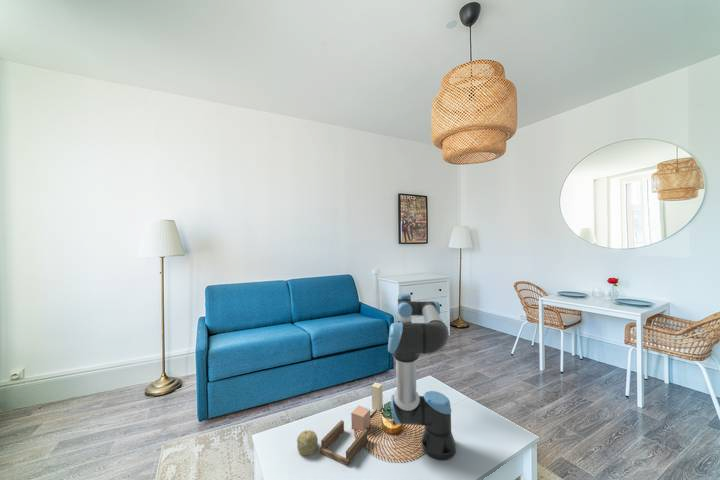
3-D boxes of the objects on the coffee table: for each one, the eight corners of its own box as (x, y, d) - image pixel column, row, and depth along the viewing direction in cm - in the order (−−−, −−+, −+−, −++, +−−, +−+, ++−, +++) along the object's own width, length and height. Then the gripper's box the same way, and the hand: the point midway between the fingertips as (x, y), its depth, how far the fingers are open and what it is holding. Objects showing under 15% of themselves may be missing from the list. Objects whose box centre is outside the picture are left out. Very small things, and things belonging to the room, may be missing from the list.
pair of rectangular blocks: (384, 407, 158) (384, 384, 158) (363, 433, 137) (362, 406, 137) (373, 404, 161) (373, 381, 161) (351, 428, 141) (351, 402, 141)
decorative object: (296, 455, 129) (289, 446, 123) (307, 432, 136) (301, 422, 131) (313, 463, 125) (307, 454, 120) (323, 439, 132) (318, 429, 127)
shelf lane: (367, 440, 132) (367, 429, 132) (347, 466, 118) (347, 454, 118) (341, 429, 140) (341, 420, 140) (319, 452, 125) (319, 441, 125)
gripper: (406, 314, 174) (407, 348, 174) (389, 325, 152) (390, 364, 152) (418, 316, 170) (419, 350, 170) (402, 327, 148) (403, 367, 148)
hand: (405, 357), depth 161 cm, fingers open, 13 cm apart
